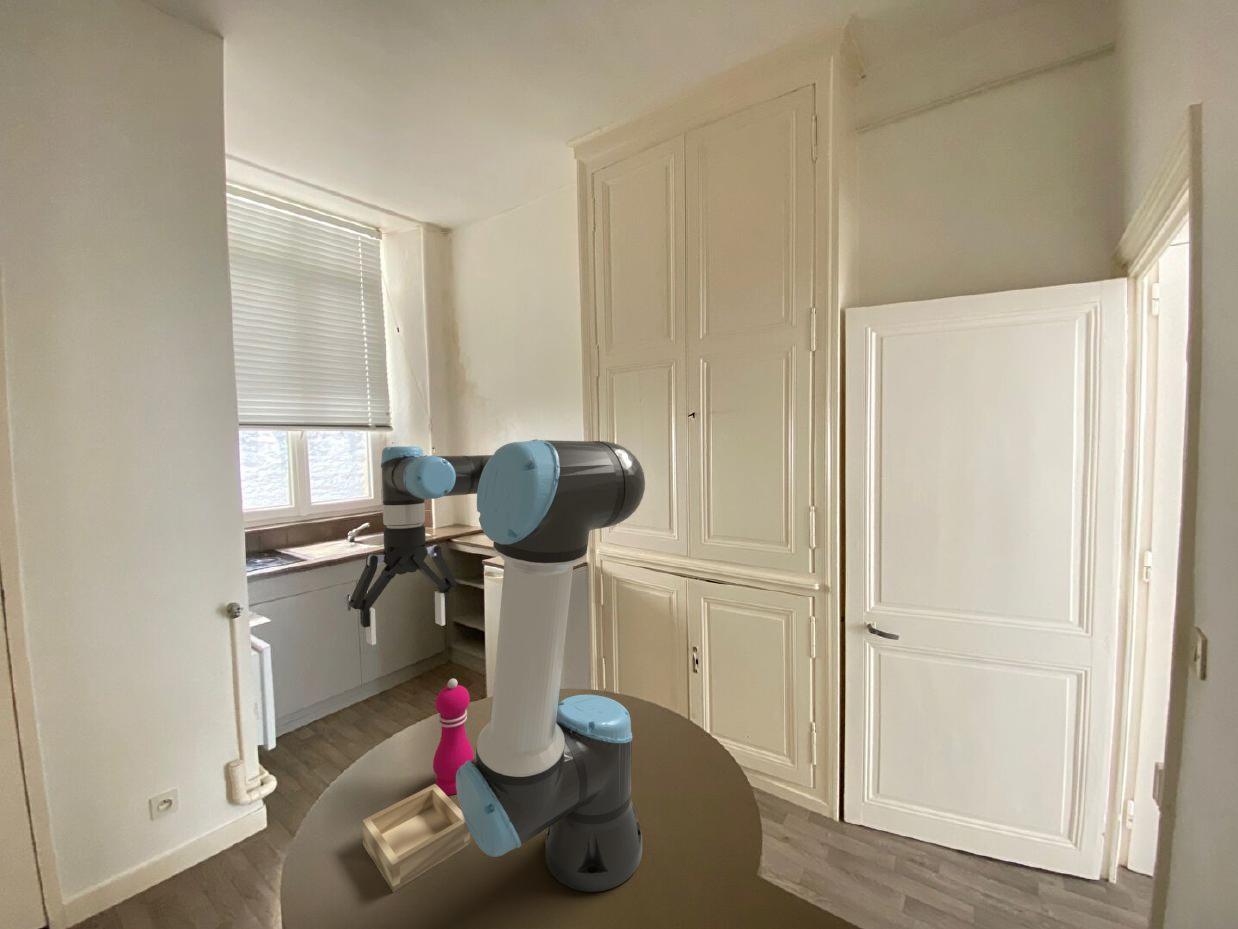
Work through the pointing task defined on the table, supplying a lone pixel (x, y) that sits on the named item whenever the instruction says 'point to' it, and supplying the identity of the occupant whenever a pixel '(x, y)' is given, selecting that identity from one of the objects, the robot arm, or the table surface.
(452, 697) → the pepper mill
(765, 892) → the table surface
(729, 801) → the table surface
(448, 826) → the tray
